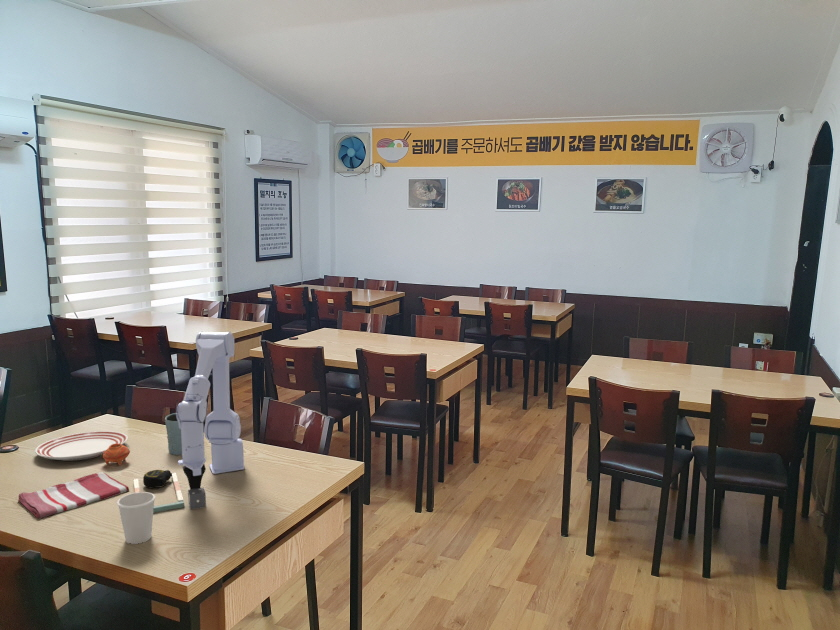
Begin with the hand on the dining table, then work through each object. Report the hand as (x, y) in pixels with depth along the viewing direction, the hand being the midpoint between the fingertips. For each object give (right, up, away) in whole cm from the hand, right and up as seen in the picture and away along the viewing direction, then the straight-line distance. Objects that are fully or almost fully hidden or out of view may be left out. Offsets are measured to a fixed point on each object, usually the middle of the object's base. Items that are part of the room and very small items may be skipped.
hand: (195, 491), depth 172 cm
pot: (-35, +1, +27) cm, 44 cm away
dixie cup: (-6, -6, -20) cm, 22 cm away
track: (-12, -2, +4) cm, 13 cm away
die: (+1, -3, -2) cm, 4 cm away
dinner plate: (-51, +2, +38) cm, 64 cm away
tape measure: (-15, -1, +11) cm, 19 cm away
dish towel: (-35, -3, +3) cm, 35 cm away
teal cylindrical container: (-18, +3, +39) cm, 43 cm away
